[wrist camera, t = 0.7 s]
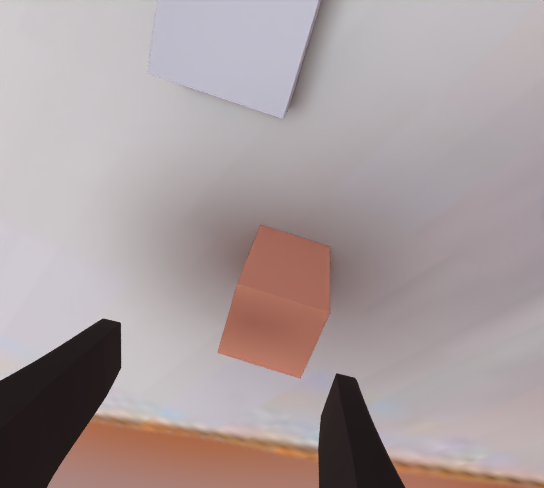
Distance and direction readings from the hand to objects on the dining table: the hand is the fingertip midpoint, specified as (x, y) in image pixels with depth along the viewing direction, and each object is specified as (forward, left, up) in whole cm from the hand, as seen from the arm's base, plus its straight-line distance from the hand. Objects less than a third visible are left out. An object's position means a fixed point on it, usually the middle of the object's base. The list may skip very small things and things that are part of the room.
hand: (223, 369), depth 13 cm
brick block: (-1, +1, -10) cm, 10 cm away
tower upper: (+4, -10, -8) cm, 13 cm away
